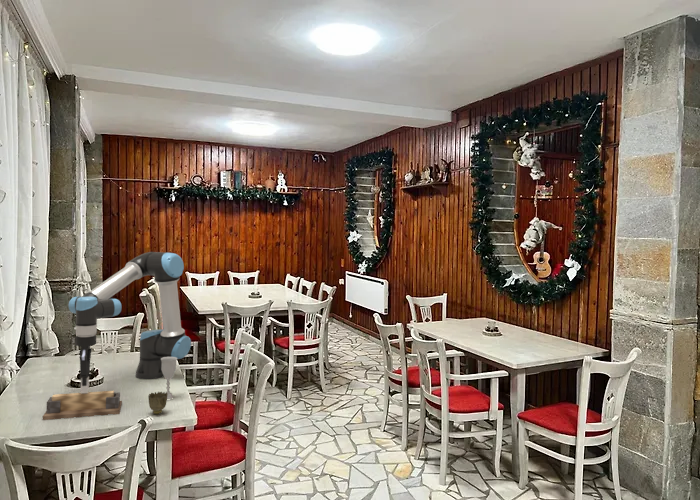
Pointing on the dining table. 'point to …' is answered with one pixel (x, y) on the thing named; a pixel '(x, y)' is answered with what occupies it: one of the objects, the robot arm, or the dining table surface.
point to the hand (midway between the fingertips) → (84, 392)
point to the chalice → (168, 371)
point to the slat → (82, 400)
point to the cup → (157, 401)
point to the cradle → (54, 410)
